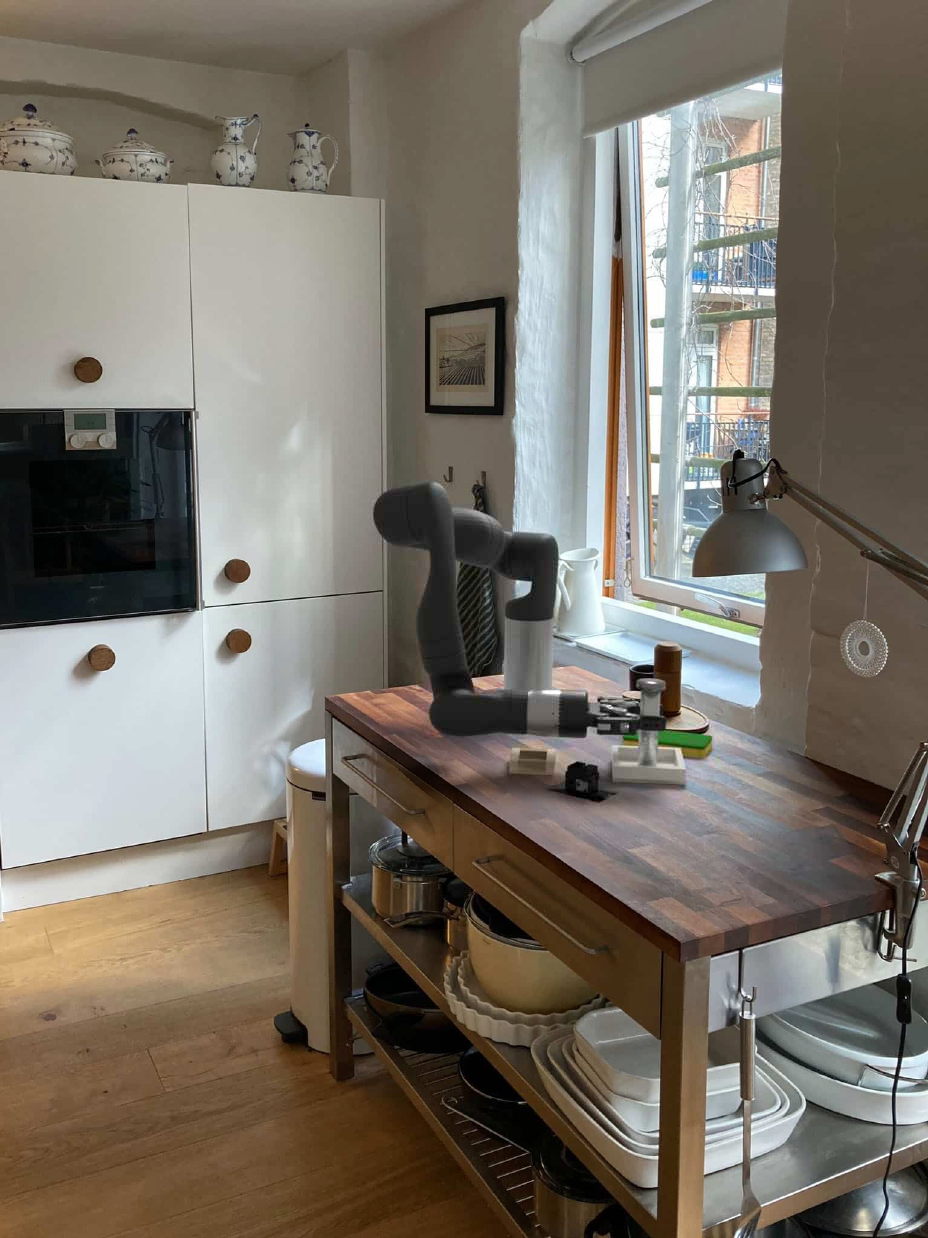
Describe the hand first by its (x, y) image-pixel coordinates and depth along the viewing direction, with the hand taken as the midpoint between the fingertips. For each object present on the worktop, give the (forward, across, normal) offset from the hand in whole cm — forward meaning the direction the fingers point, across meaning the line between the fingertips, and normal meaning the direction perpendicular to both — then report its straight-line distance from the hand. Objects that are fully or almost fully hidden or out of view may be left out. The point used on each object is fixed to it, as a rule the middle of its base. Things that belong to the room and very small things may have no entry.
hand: (663, 717), depth 175 cm
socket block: (-20, 0, +9) cm, 22 cm away
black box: (-12, -10, +10) cm, 19 cm away
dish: (-2, 0, +9) cm, 9 cm away
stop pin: (-2, 0, +8) cm, 9 cm away
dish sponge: (+2, +14, +10) cm, 17 cm away
